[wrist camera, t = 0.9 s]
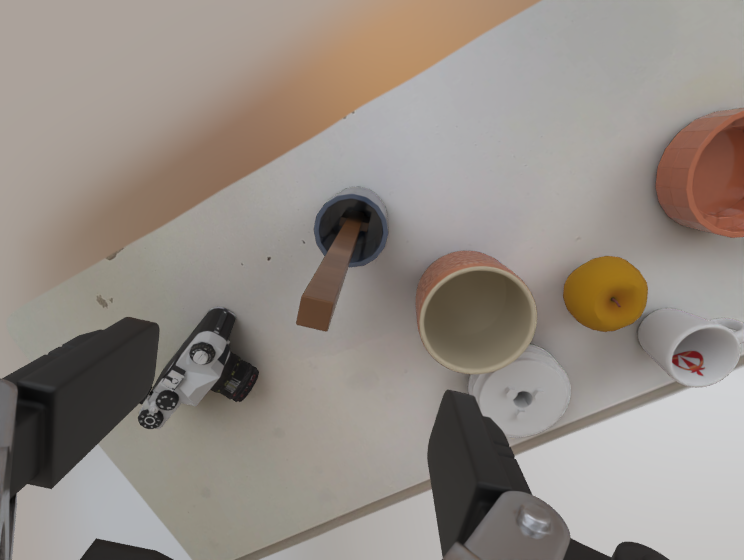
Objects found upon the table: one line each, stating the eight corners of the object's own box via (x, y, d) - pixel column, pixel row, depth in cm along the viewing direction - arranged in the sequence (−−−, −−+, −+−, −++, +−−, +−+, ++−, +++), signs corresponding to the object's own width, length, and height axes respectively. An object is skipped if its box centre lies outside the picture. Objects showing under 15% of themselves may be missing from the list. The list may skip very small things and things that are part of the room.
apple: (583, 234, 51) (622, 250, 43) (633, 272, 52) (681, 295, 44) (536, 288, 53) (565, 314, 45) (586, 324, 55) (623, 355, 46)
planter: (515, 245, 52) (548, 268, 41) (500, 336, 55) (528, 379, 45) (415, 240, 52) (423, 261, 41) (408, 331, 56) (413, 372, 45)
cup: (708, 283, 52) (764, 306, 45) (718, 337, 55) (772, 367, 47) (622, 312, 54) (662, 338, 46) (635, 364, 56) (674, 397, 48)
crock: (334, 180, 50) (322, 186, 41) (393, 194, 50) (395, 204, 41) (322, 238, 52) (308, 257, 43) (379, 252, 53) (377, 274, 43)
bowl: (682, 98, 46) (724, 90, 41) (792, 127, 47) (848, 123, 41) (633, 213, 50) (665, 220, 44) (735, 239, 51) (780, 249, 45)
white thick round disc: (579, 371, 57) (597, 391, 52) (519, 436, 60) (530, 460, 55) (506, 322, 55) (518, 338, 50) (448, 391, 58) (454, 413, 53)
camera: (219, 407, 61) (202, 461, 52) (151, 372, 58) (119, 424, 49) (278, 339, 58) (271, 384, 49) (209, 296, 54) (187, 337, 45)
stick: (345, 208, 50) (285, 291, 20) (371, 214, 51) (350, 306, 20) (342, 221, 51) (279, 321, 20) (368, 227, 51) (343, 336, 20)
